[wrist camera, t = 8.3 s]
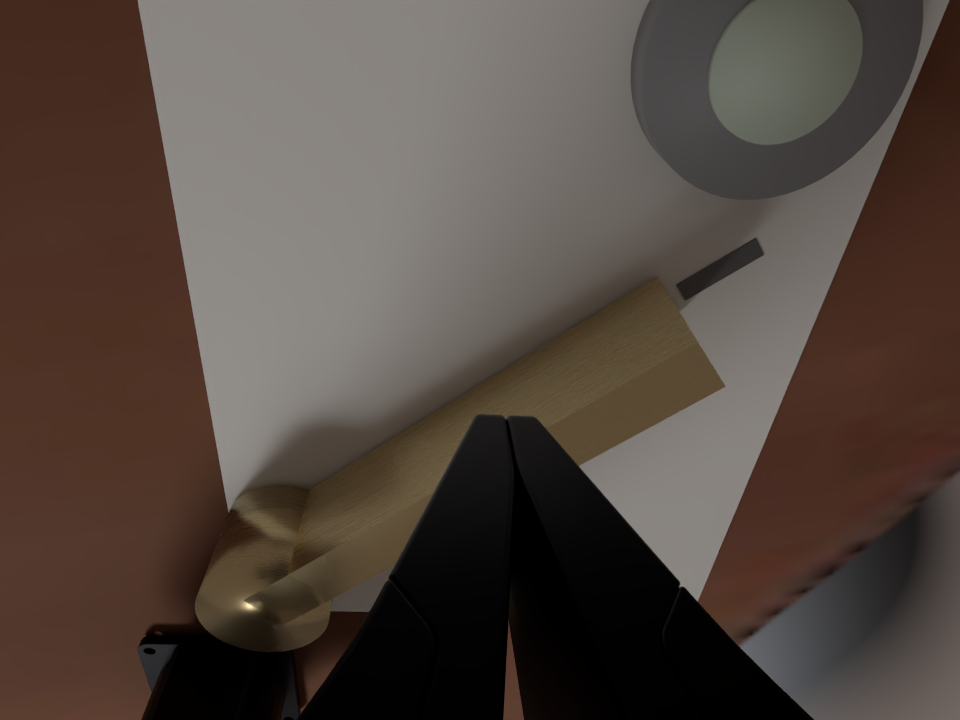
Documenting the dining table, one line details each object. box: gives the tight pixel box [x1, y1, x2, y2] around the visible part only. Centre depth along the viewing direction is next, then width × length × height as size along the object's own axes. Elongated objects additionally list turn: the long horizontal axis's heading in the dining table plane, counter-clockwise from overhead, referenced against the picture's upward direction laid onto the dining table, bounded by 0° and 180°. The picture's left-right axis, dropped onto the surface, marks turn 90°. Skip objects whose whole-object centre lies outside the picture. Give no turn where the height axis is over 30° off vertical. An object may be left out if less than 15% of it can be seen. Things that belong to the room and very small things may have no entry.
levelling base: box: [138, 0, 949, 612], centre depth 20 cm, size 24×18×3 cm
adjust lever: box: [195, 276, 726, 652], centre depth 19 cm, size 17×4×4 cm, turn 126°
